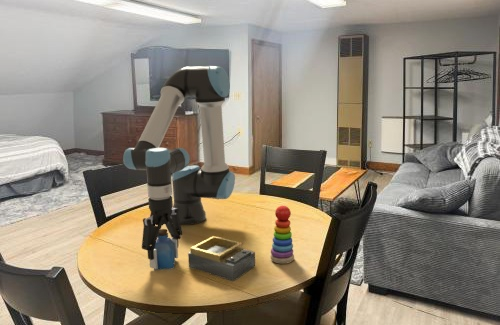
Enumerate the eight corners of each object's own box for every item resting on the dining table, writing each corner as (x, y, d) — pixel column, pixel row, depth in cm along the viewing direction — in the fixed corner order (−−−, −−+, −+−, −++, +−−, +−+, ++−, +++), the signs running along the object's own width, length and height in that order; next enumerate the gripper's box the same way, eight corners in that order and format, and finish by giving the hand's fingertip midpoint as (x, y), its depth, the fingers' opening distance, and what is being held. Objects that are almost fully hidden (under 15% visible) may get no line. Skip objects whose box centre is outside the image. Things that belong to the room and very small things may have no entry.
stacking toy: (293, 265, 137) (293, 210, 133) (269, 264, 138) (268, 209, 135) (295, 255, 145) (295, 203, 141) (271, 254, 146) (271, 202, 142)
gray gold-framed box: (188, 267, 137) (187, 247, 136) (212, 254, 147) (211, 235, 145) (233, 281, 127) (232, 259, 126) (255, 266, 137) (254, 246, 136)
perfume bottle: (156, 261, 142) (154, 227, 140) (174, 260, 142) (173, 226, 140) (153, 269, 136) (151, 234, 133) (173, 268, 136) (171, 233, 134)
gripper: (142, 207, 124) (147, 278, 128) (191, 190, 141) (194, 253, 146) (125, 203, 128) (131, 272, 132) (175, 187, 145) (178, 248, 150)
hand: (164, 262), depth 139 cm, fingers closed on perfume bottle, 9 cm apart
